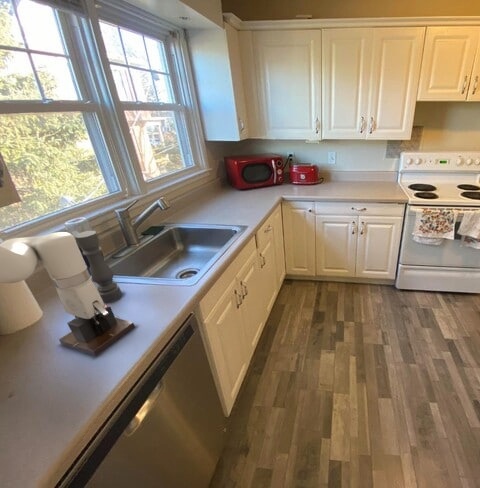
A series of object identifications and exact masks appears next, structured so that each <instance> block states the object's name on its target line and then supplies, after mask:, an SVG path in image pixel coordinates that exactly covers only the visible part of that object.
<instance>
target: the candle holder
mask: <svg viewBox="0 0 480 488" xmlns="http://www.w3.org/2000/svg"><path fill="white" fill-rule="evenodd" d="M73 237H74V239H75V241H76V243H77V245H78V247H79V249H81V250H83V251H82V256H85V257H86V258H87V261H88V263H89V269H90V270H89V271H90V275H91V277H92V278H91V281H92V282H93V283H95V284H97V287H96V289H97V291H98V292H99V294H100V296H101V298H102V300H103V303H104V304H106V303H107V304H109V303H112V302H115V301H118V300H119V299H120V298H122V296H123V293H122V290H121V287H120V285H118V283H117V282H116V281H114V271H113V270H112V269H111V267H110V266H109V264H108V263H107V262H106V261H105V259H104V257H103V254H102V252H103V248H102V247H101V246H100V241H101V240H100V238H99V235H98V233H97V231H96V230H86V231H81V232H78V233H76V234H74V235H73Z"/></svg>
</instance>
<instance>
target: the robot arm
mask: <svg viewBox="0 0 480 488" xmlns="http://www.w3.org/2000/svg"><path fill="white" fill-rule="evenodd" d="M39 264H42V265H43V266H44V268H45V270H46V272H47V273H48V275H49V278H50V279H51V281H52V283H53V285H54V287H55V289H56V293H57V296H58V297H59V300H60V302H61V304H62V307H63V309H64V311H65V313H67V315H71V316H74V319H75V318H77V317H81V318H84V319H90V318H91V319H92V320H93V321H94V322H95V324H94V326H95V328H96V330H97V332H98V334H99V335H102V334H104V333H105V332H107V331H108V330H110V329H111V327H110V325H109V322H108V320H107V317H108V314H109V313H108V312H107V311H106V310H105V305H106V304H105V303H104V302H103V300H102V298H101V296H100V294H99V291H98V290H97V287H96V285H95V284H94V281H93V280H92V277H91V271H90V270H89V267H88V265H87V263H86V262H85V259H84V257H83V253H82V252H81V250H80V247H79V246H78V244H77V242H76V240H75V238H74V235H73V234H72V233H70V232H66V231H58V232H50V233H48V234H45V235H39V236H27V237H14V238H9V239H7V240H6V239H5V240H4V241H2V242H1V243H0V283H1V284H15V283H19V282H22V281H25V280H27V279H29V277H31V276H32V274H34V272H35V270H36V267H37V265H39ZM95 310H96V311H97V312H95V313H94V311H95ZM97 314H100V317H98V319H97V318H96V317H95V316H96V315H97Z"/></svg>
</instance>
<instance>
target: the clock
mask: <svg viewBox="0 0 480 488" xmlns="http://www.w3.org/2000/svg"><path fill="white" fill-rule="evenodd" d="M104 305H105V310H106V311H107V312H108V313H109V314H108V317H107V320H108V322H109V325H110V327H111V326H112V325H114V324H115V323H117V321H116V318H115V317H116V316H115V314H114V312H113V311H114V310H113V309H112V306H110V305H106V304H104ZM95 312H97V311H96V310H95V311H94V313H95ZM95 317H96V318H97V319H98V317H100V314H97V315H96V316H95ZM94 324H95V322H94V321H93V320H92V319H91V318H90V319H84V318H81V317H77V318H75V317H74V318H73V319H71V320H70V321H69V322H67V326H68V327H69V329H70V332H72V333H73V335H74V337H75V339H76V340H79V341H82V342H85V343H87V342H89V341H90V340H92V339H93V338H95V337H96V336H98V335H99V334H98V332H97V330H96V328H95V326H94Z"/></svg>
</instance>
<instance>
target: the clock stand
mask: <svg viewBox="0 0 480 488" xmlns="http://www.w3.org/2000/svg"><path fill="white" fill-rule="evenodd" d="M119 317H120V316H119V315H117V316H115V318H116V321H117V323H115V324H114V325H112V326H111V329H110V330H108V331H107V332H105V333H104V334H102V335H98V336H96V337H95V338H93V339H92V340H90V341H89V342H87V343H85V342H82V341H79V340H76V339H75V337H74V335H73V333H72V331H70V332H68V333H66V334H65V335H64V336H62V337H61V338H59V339H58V341H59V343H60V344H61V345H62V346H64V347H68V348H69V349H70V348H71V349H73V350H76V351H79V352H82V353H85V354H88V355H90V356H93V357H98V356H99V355H100V354H101V353H103V352H105V351H106V350H107V349H108V348H110V347H111V346H112V345H113V344H115V343H116V342H118V341H119V340H120V339H122V338H123V337H125V335H127V334H129V333H130V332H131V331H132V330H134V329H135V328H136V326H135V324H134V322H133V321H129V320H126V319H122V318H119Z"/></svg>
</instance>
